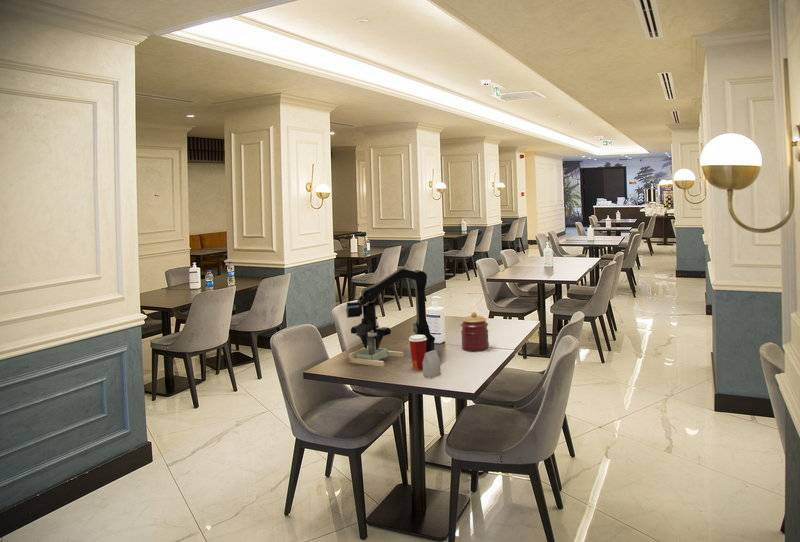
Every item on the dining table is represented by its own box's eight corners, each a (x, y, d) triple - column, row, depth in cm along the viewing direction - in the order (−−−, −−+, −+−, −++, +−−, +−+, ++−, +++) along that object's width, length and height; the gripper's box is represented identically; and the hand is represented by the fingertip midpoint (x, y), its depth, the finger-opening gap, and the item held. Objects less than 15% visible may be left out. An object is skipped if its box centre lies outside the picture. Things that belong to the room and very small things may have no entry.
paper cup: (430, 366, 247) (428, 334, 246) (425, 371, 240) (423, 338, 239) (413, 365, 250) (411, 334, 248) (407, 370, 243) (406, 338, 241)
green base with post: (388, 356, 264) (386, 334, 263) (372, 363, 253) (370, 340, 252) (372, 354, 269) (370, 333, 268) (355, 361, 258) (354, 339, 257)
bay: (403, 357, 263) (403, 347, 262) (382, 368, 248) (381, 357, 247) (371, 354, 272) (371, 344, 272) (349, 364, 257) (348, 354, 257)
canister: (458, 351, 270) (456, 314, 268) (465, 344, 282) (464, 309, 280) (485, 352, 265) (484, 315, 263) (491, 345, 277) (490, 310, 275)
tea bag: (440, 373, 235) (439, 350, 234) (430, 378, 230) (428, 354, 229) (433, 372, 238) (432, 349, 236) (423, 376, 233) (421, 352, 232)
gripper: (342, 317, 257) (344, 351, 259) (376, 320, 247) (378, 355, 249) (356, 313, 267) (359, 345, 268) (390, 315, 257) (392, 349, 258)
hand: (371, 348), depth 261 cm, fingers open, 6 cm apart
